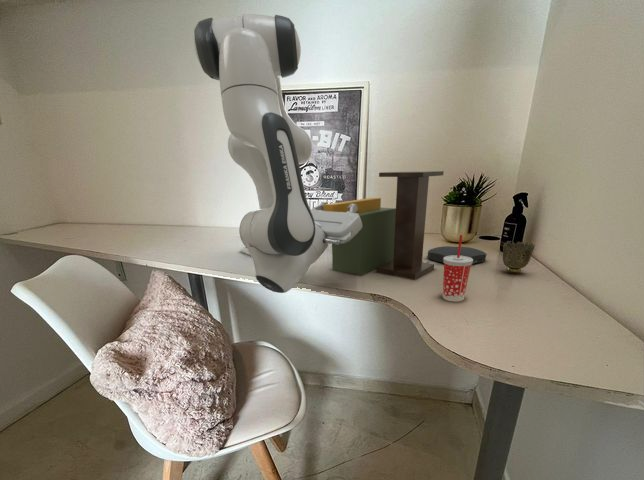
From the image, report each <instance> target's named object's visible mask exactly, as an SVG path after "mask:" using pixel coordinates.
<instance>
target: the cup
mask: <svg viewBox="0 0 644 480" xmlns="http://www.w3.org/2000/svg"><path fill="white" fill-rule="evenodd" d="M535 247H536V246H535V244H533V243H532V242H531V243H528V242H525V243H524V242H523V241H521V242H520V241H519V240H518V241H517V242H516V243H515V242H514V241H512V242H510V241H508V240H507V241H506V242H503V244H502V263H503V264H504V266H506V273H509V274H511V275H518V274H521V272H522V269H523V268H525V267H526V266H528V264H529V262H530V260H531V258H532V255H533V253H534V250H535Z"/></svg>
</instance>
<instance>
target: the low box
mask: <svg viewBox="0 0 644 480" xmlns="http://www.w3.org/2000/svg"><path fill="white" fill-rule="evenodd" d="M357 214H359V216H360V218H361V221H362V229H361V230H360V231H359V232H358V233H357V234H356V235H355V236H354V237H353V238H352V239H351V240H350V241H348V242H347V243H343V244H340V245H336V244H331V255H332V256H331V258H332V261H331V262H332V270H333V271H339V272H343V273H348V274H351V275H352V274H353V275H357V276H363V275H364V274H367V273H369V272H371V271H374V270H377V267H378V266H381V265H383V264H385V263H388V262H390V261H393V258H394V237H395V216H396V207H381V209H377V210H371V211H366V212H361V213H357Z"/></svg>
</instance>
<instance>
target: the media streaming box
mask: <svg viewBox="0 0 644 480" xmlns="http://www.w3.org/2000/svg"><path fill="white" fill-rule="evenodd" d="M457 254H458V246H452V245H445V246H443V245H442V246H436V247H433V248H430V249H428V250H427V258H428V259H429V260H432V261H435V262H438V263H441V264H444V262H443V258H444V257H446V256H451V255H457ZM460 256H466V257H470V258H472V259H473V262H472V265H474V264H478V263H482V262H486V259H487V253H486V252H484V251H483V250H481V249H477V248H474V247H468V246H461V249H460Z"/></svg>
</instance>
